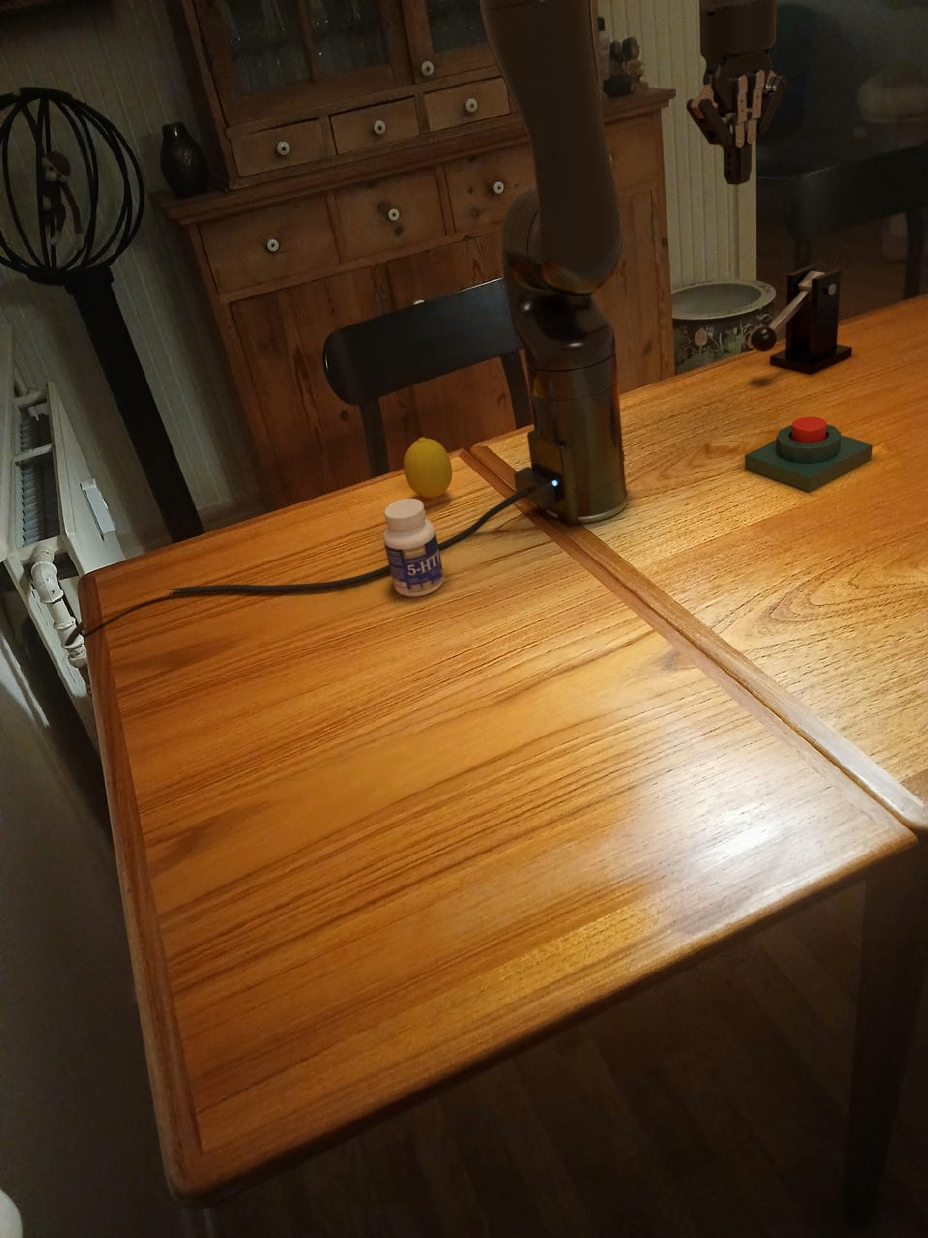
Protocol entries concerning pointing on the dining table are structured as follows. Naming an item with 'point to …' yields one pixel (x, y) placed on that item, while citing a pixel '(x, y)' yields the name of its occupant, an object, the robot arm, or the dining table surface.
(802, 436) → the push button
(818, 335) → the black lever stand
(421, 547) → the pill bottle
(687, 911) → the dining table surface
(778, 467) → the button block
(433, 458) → the lemon
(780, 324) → the tap lever
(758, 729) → the dining table surface
